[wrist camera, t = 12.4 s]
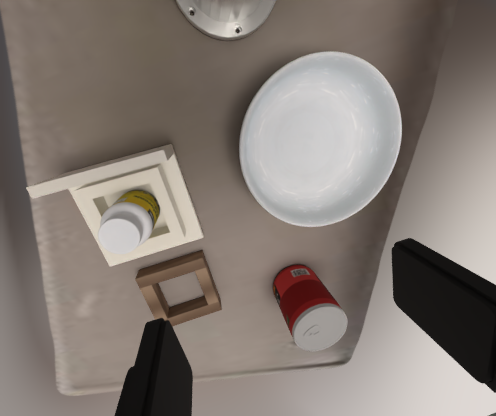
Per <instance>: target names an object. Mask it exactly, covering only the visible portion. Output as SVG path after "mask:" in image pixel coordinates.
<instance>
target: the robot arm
mask: <svg viewBox="0 0 496 416" xmlns="http://www.w3.org/2000/svg"><path fill="white" fill-rule="evenodd" d="M275 2H276V0H176V3H177V5H178V7H179V8H180V10H181V11H182V13H183V14H184V16H185V17H186V18H187V19H188V21H189V22H190V23H191V24H192V25H193V26H194V27H196V28H197V29H198V30H200V31H201V32H202V33H204V34H206V35H208V36H210V37H212V38H216V39H220V40H237V39H242V38H244V37H246V36H249V35H251V34H252V33H253V32H255V31H256V30H258V29H259V28H260V26H261V25H262V24H263V23H264V22H265V21H266V19H267V18H268V16H269V15H270V13H271V11H272V9H273V7H274V5H275ZM190 12H193V13H194V15H193V16H191V15H190ZM235 30H239V33H236V31H235ZM392 271H393V296H394V297H393V298H394V301H395V303H396V305H397V306H398V307H399V308H400V309H401V310H402V311H403V312H404V313H405V314H406V315H407V316H409V317H410V318H411V319H412V320H413V321H414V322H415V323H416V324H417V325H418V326H419V327H420V328H421V329H422V330H423V331H425V332H426V333H427V334H428V335H429V336H430V337H431V338H432V339H433V340H434V341H435V342H436V343H437V344H438V345H439V346H441V347H442V348H443V349H444V350H445V351H446V352H447V353H448V354H449V355H450V356H451V357H452V358H454V360H455V361H457V362H458V363H459V364H460V365H461V366H462V367H463V368H464V369H465V370H466V371H467V372H468V373H469V374H470V375H471V376H472V377H474V378H475V379H476V380H477V381H479V382H480V383H485V384H486V385H487V386H488V387H489V388H490V389H491V390H492V391H494V392H496V285H495V284H493V283H491V282H489V281H487V280H486V279H484V278H482V277H480V276H478V275H476V274H475V273H473V272H471V271H469V270H468V269H466V268H464V267H462V266H460V265H459V264H457V263H455V262H453V261H451V260H450V259H448V258H446V257H444V256H442V255H441V254H439V253H437V252H435V251H433V250H432V249H430V248H428V247H426V246H424V245H422V244H421V243H419V242H417V241H415V240H414V239H411V238H408V239H405V240H402V241H399V242H396V243H395V244H394V247H393V248H392ZM192 381H193V376H192V370H191V367H190V364H189V362H188V360H187V358H186V356H185V354H184V351H183V349H182V347H181V345H180V343H179V341H178V338H177V336H176V334H175V332H174V330H173V328H172V325H171V323H170V321H169V320H166V321H165V320H164V319H163V318H159V319H156V320H153V321H150V322H147V323H146V325H145V328H144V332H143V336H142V339H141V343H140V347H139V350H138V354H137V358H136V362H135V365H134V366H133V367H131V368H130V369H129V370H128V372H127V375H126V378H125V382H124V385H123V389H122V392H121V396H120V399H119V403H118V406H117V410H116V413H115V416H191V414H192V413H191V412H192V411H191V410H192ZM489 416H496V413H494V414H491V415H489Z"/></svg>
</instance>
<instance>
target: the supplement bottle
mask: <svg viewBox="0 0 496 416" xmlns="http://www.w3.org/2000/svg"><path fill="white" fill-rule="evenodd" d="M159 214H160V206H159V203H158V201H157V199H156V197H155V196H154V195H153V194H151V193H150V192H148V191H146V190H141V189H135V190H131V191H128V192H126V193H125V194H124V195H122V196H121V197H120V198H119V199H118V200H117V201H116V202H115V203H114V204H113V205H111V206H110V207H109V208H108V209H107V210H106V211H105V213H104V214H103V216H102V218H101V222H100V229H99V231H98V239H99V242H100V244H101V245H102V246H103V248H105V249H106V250H107V251H109V252H111V253H114V254H126V253H129V252H131V251H133V250H134V249H135V248H136V247H137V246H140V245H141V244H143V243H144V242H145V241H146V240H147V239H148V238H149V237H150V235H151V233H152V231H153V229H154V226H155V224H156V222H157V220H158V217H159Z"/></svg>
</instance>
